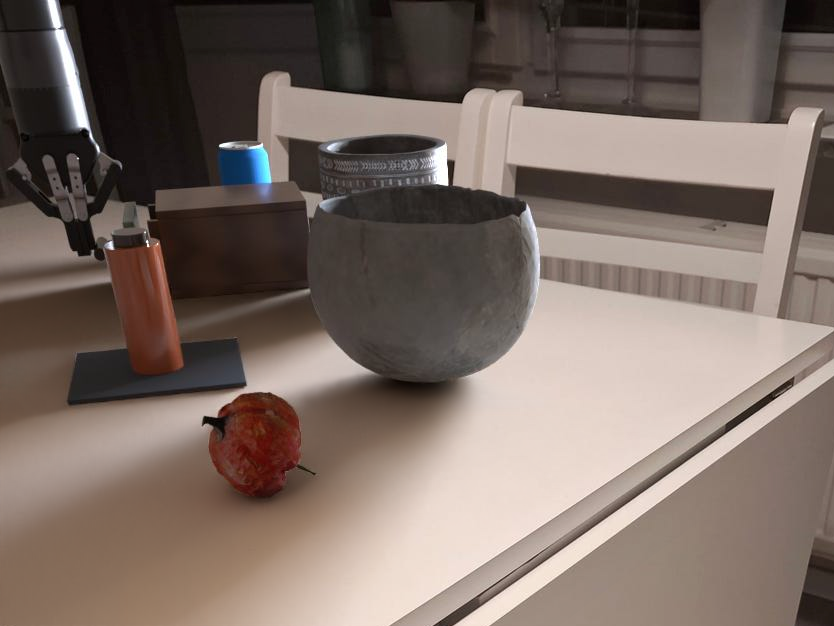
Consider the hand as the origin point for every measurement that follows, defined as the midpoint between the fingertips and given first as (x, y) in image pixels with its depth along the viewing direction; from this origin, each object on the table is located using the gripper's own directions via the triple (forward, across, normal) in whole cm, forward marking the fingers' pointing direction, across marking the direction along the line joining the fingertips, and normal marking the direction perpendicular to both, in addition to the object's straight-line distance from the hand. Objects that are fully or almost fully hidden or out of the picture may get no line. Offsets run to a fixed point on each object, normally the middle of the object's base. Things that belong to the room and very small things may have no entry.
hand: (85, 254), depth 118 cm
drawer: (+3, +11, 0) cm, 12 cm away
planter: (+4, +34, -10) cm, 36 cm away
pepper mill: (+4, +8, -32) cm, 33 cm away
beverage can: (+4, +20, +18) cm, 28 cm away
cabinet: (+4, +18, 0) cm, 18 cm away
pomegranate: (+4, +15, -62) cm, 64 cm away
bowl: (+4, +32, -41) cm, 53 cm away
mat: (+4, +8, -32) cm, 33 cm away
